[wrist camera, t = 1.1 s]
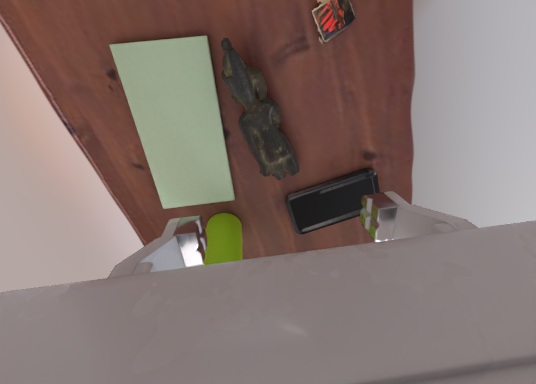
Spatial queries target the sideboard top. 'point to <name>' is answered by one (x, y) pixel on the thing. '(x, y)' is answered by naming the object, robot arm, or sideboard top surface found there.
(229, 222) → the soap dispenser
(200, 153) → the board
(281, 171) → the statue
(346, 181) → the phone
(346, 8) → the matchbox
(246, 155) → the sideboard top surface
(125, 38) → the sideboard top surface
